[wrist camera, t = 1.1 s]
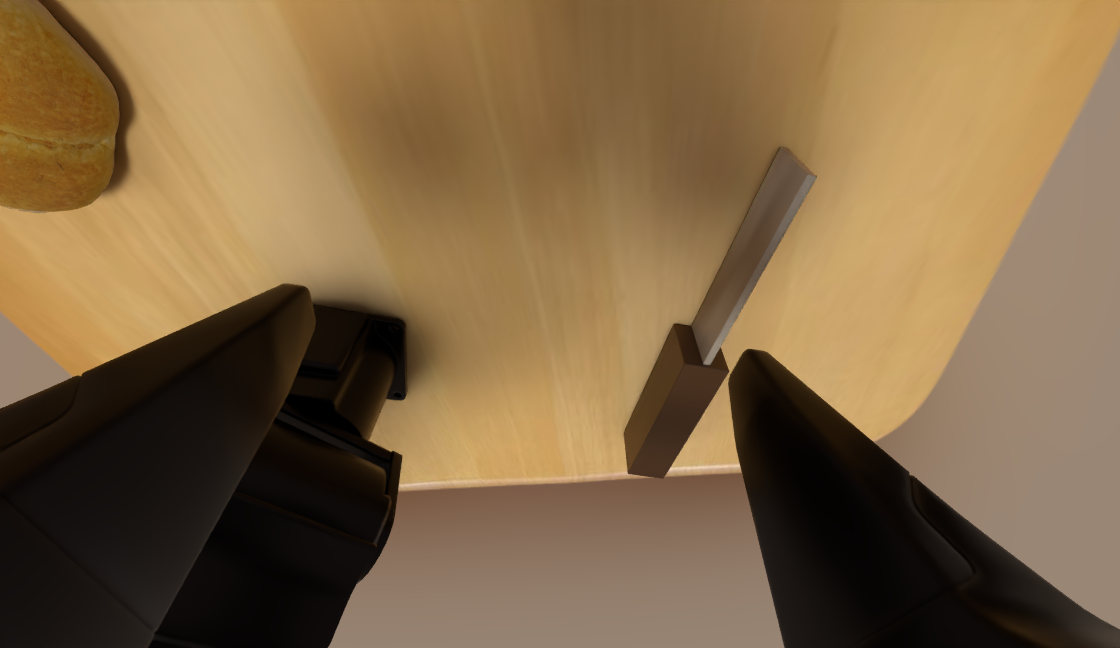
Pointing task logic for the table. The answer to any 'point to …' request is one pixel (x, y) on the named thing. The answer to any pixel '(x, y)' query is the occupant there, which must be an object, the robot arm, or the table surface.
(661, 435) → the knife
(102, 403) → the robot arm
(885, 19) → the table surface
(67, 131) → the bread roll
